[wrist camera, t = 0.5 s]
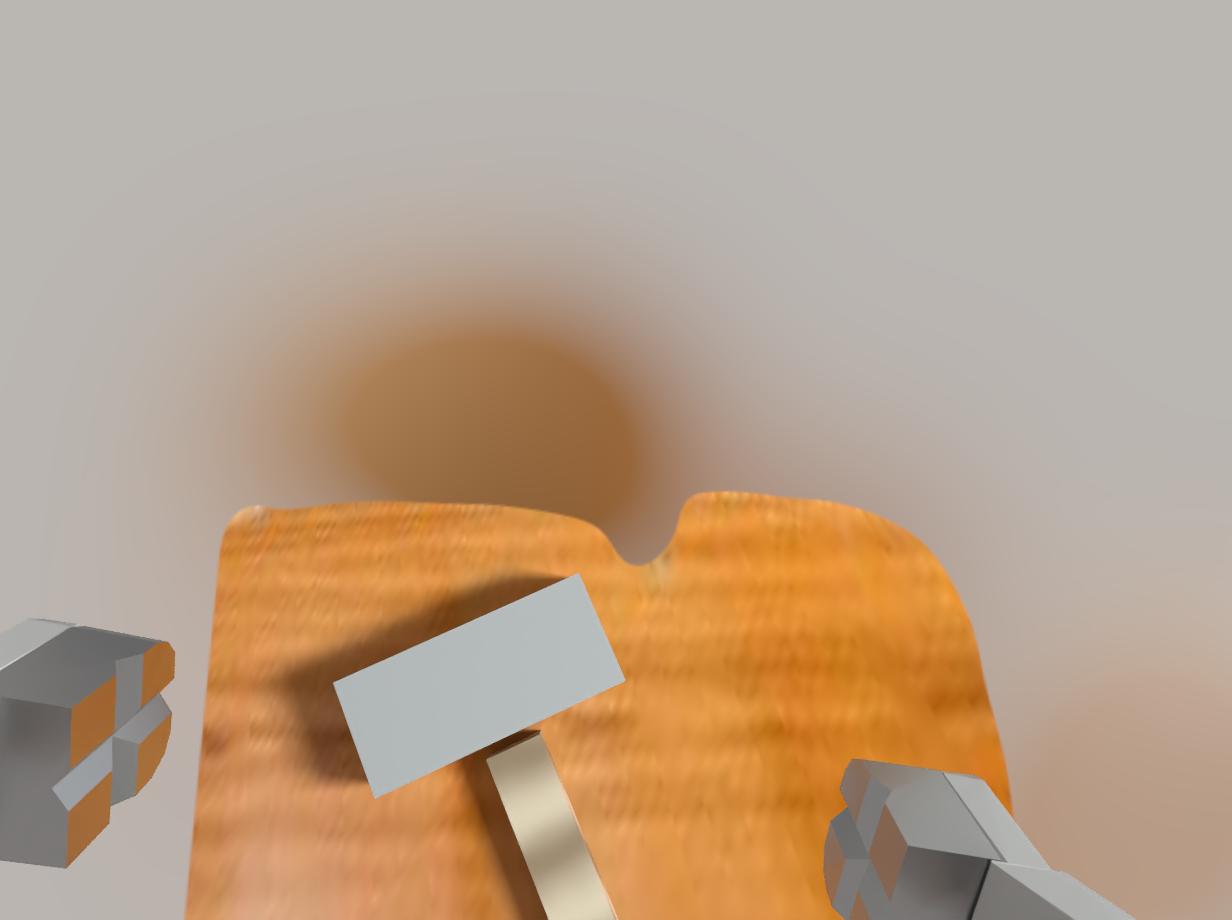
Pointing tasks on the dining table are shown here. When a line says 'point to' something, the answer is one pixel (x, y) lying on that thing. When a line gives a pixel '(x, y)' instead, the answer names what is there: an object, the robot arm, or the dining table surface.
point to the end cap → (477, 684)
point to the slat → (549, 832)
